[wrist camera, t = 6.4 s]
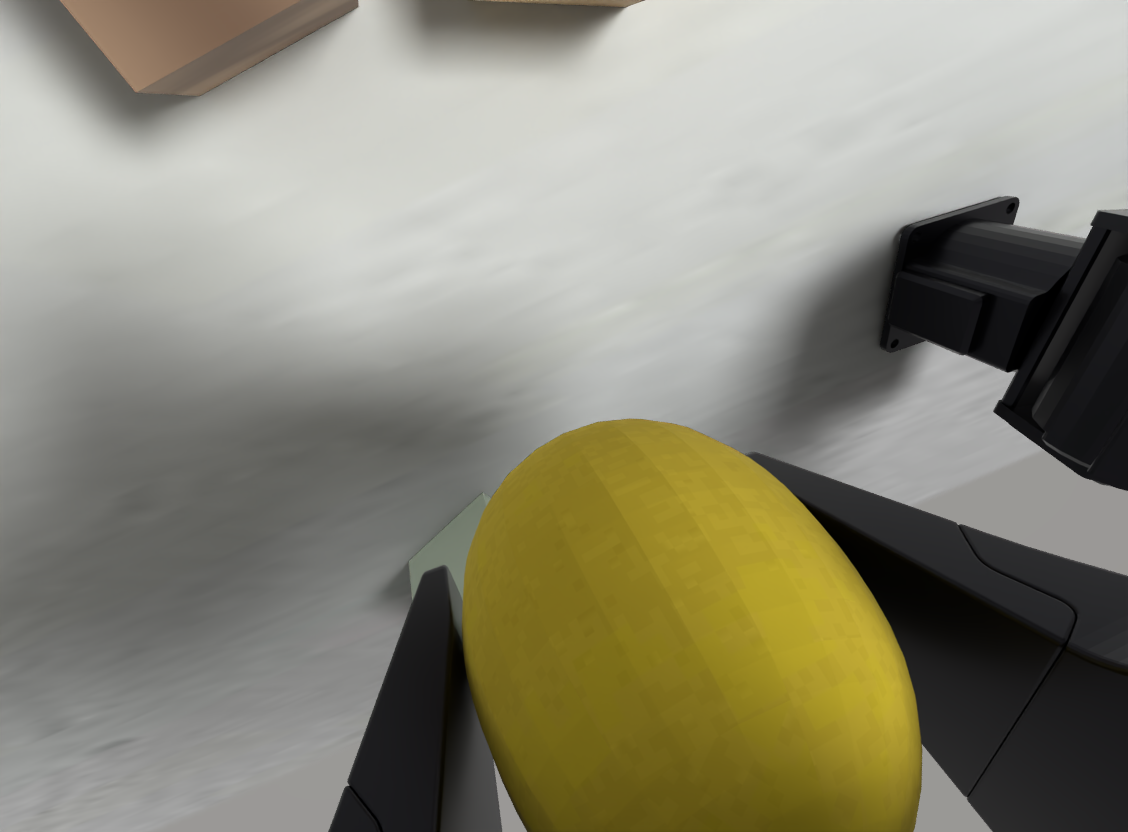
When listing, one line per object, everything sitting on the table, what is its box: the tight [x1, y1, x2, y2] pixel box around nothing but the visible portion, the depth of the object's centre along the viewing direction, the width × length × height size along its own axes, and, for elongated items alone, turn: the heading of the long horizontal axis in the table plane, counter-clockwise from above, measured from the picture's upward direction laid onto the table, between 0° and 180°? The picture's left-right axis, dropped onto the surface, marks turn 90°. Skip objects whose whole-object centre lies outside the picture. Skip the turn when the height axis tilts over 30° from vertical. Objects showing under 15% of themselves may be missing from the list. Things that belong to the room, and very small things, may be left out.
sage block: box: [409, 492, 491, 601], centre depth 24 cm, size 5×5×5 cm
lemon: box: [462, 419, 922, 832], centre depth 8 cm, size 6×6×8 cm
